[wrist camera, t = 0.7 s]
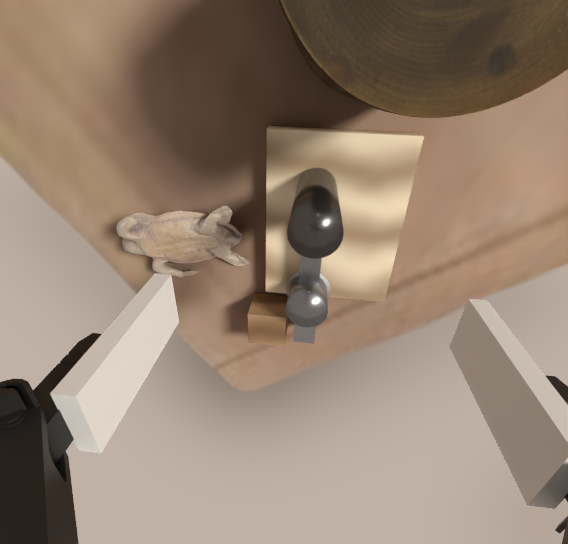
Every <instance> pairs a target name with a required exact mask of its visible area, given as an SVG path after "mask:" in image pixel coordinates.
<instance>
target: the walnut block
mask: <svg viewBox="0 0 568 544" xmlns="http://www.w3.org/2000/svg"><path fill="white" fill-rule="evenodd" d="M287 298H288V296H284V295H272V294H261V293H254V296H253V299H252V302H251V305H250V308H249V312H248V342H249V343H254V344H264V345H274V346H285V340H286V333H287V326H288V317H287V314H286V304H287Z"/></svg>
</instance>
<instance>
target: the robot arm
mask: <svg viewBox="0 0 568 544" xmlns="http://www.w3.org/2000/svg"><path fill="white" fill-rule="evenodd" d="M178 323H179V318H178V312H177V306H176V300H175V295H174V289H173V283H172V277H171V275H168V274H156V273H155V274H154V275H153V276H152V277H151V278H150V280H149V281H148V282H147V283H146V284H145V285H144V286H143V288H142V289H141V290H140V291H139V292H138V293H137V294H136V296H135V297H134V298H133V299H132V300H131V301H130V302H129V304H128V305H127V306H126V307H125V308H124V309H123V311H122V312H121V313H120V314H119V315H118V316H117V317H116V319H115V320H114V321H113V322H112V323H111V324H110V325H109V327H108V328H107V329H106V330H105V331H104V332H103V333H102V334H97V333H92V334H91V335H89V336H87V337H86V338H84V339H83V340H81V341H79V342H78V343H77V344H76V345H75V346H74V348H73V349H72V350H71V351H70V352H69V354H68V355H66V356H65V357H64V358H63V359H62V361H61V362H60V364H58V365H57V366H56V367H55V368H54V369H53V370H52V371H51V372H50V373H49V374H48V375H47V376H46V377H45V379H44V380H43V381H42V382H41V383H40V384H39V385H38V386H37V387H36V388H35V389H34V390H32V388H31V386H30V384H29V383H28V382H27V381H25V380H23V379H11V380H6V381H3V382H0V544H78V536H77V527H76V520H75V511H74V502H73V494H72V485H71V477H70V468H69V460H68V455H67V453H66V450H67V448H68V447H69V445H70V444H71V442H72V441H74V443H75V444H76V446H77V448H78V450H79V451H86V452H95V453H102V451H103V450H104V448H105V446H106V445H107V443H108V441H109V439H110V438H111V436H112V434H113V433H114V431H115V429H116V428H117V426H118V424H119V423H120V421H121V419H122V417H123V416H124V414H125V412H126V411H127V409H128V407H129V406H130V404H131V402H132V401H133V399H134V397H135V396H136V394H137V392H138V391H139V389H140V387H141V385H142V384H143V382H144V380H145V379H146V377H147V375H148V374H149V372H150V370H151V368H152V367H153V365H154V364H155V362H156V360H157V358H158V357H159V355H160V353H161V352H162V350H163V348H164V347H165V345H166V343H167V341H168V340H169V338H170V337H171V335H172V333H173V332H174V330H175V328H176V326H177V325H178ZM450 348H451V351H452V352H453V355H454V357H455V359H456V361H457V363H458V365H459V367H460V369H461V371H462V373H463V375H464V377H465V379H466V381H467V383H468V385H469V387H470V389H471V391H472V393H473V395H474V397H475V399H476V401H477V403H478V405H479V408H480V410H481V412H482V414H483V415H484V418H485V419H486V422H487V424H488V426H489V428H490V430H491V432H492V434H493V436H494V438H495V440H496V442H497V444H498V446H499V448H500V450H501V452H502V454H503V456H504V458H505V460H506V462H507V464H508V467H509V469H510V471H511V473H512V475H513V477H514V478H515V481H516V483H517V485H518V487H519V489H520V491H521V493H522V495H523V497H524V499H525V501H526V503H527V505H530V506H539V507H547V508H556V507H557V506H558V505H559V504H560V502H561V501H562V500H563V499H564V498H566V500H567V502H568V386H566V385H565V384H564V383H562V382H561V381H560V380H559V379H558V378H556V377H555V376H545V375H544V374H543V372H542V371H541V370H540V368H539V367H538V366H537V365H536V363H535V362H534V361H533V359H532V358H531V357H530V355H529V354H528V353H527V352H526V350H525V349H524V348H523V346H522V345H521V344H520V342H519V341H518V340H517V339H516V337H515V336H514V335H513V333H512V332H511V331H510V330H509V328H508V327H507V326H506V324H505V323H504V322H503V321H502V319H501V318H500V317H499V315H498V314H497V313H496V311H495V310H494V309H493V307H492V306H491V305H490V304H489V302H488V301H487V300H475V299H468V302H467V304H466V307H465V309H464V312H463V315H462V317H461V319H460V322H459V324H458V327H457V330H456V332H455V335H454V337H453V340H452V342H451V345H450ZM564 529H565V533H564V537H563V542H562V544H568V516H567V517H566V518H565V519H564V520H563V521H562V522H561V524H559V525H558V527H557V528H556V530H555V531H557V532H558V533H561V532H562V531H563V530H564Z"/></svg>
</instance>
